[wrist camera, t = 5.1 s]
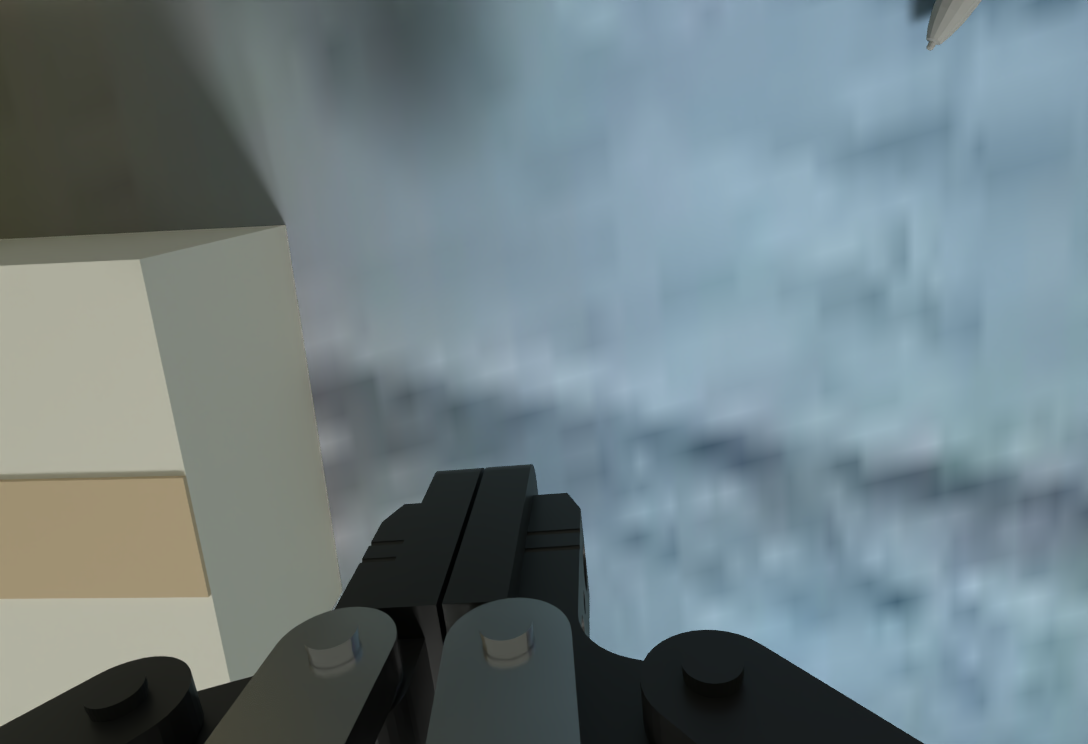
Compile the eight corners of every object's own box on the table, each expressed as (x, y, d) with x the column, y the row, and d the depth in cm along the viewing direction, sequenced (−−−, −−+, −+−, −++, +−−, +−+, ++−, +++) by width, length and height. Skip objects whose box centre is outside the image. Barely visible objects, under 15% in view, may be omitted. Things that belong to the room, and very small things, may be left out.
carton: (289, 224, 17) (135, 260, 11) (345, 586, 20) (244, 762, 14) (-169, 246, 18) (-527, 290, 12) (-54, 589, 21) (-300, 756, 15)
